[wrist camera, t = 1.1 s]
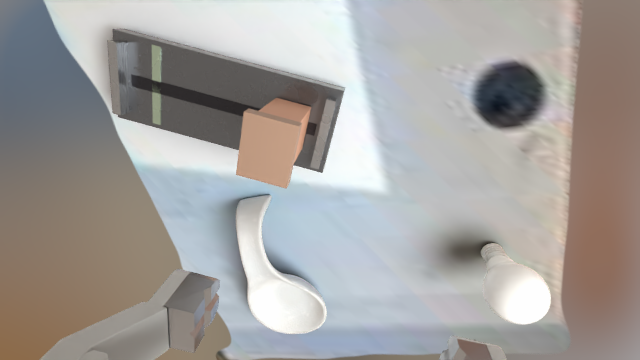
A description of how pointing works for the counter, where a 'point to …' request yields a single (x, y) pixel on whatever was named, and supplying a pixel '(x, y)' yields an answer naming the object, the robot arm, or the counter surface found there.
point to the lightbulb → (513, 288)
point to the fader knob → (272, 141)
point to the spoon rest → (274, 279)
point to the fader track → (211, 93)
